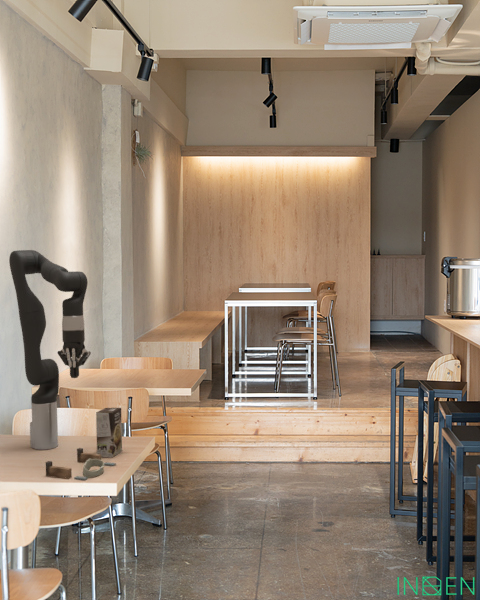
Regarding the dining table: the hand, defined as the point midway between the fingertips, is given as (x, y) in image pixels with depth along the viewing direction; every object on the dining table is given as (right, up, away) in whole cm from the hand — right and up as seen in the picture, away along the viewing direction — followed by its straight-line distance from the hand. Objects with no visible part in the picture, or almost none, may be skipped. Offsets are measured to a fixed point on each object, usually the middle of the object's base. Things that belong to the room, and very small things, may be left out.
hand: (74, 377), depth 226 cm
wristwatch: (+10, -30, -16) cm, 35 cm away
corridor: (+3, -29, -11) cm, 31 cm away
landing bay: (+11, -29, -14) cm, 34 cm away
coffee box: (+11, -29, +8) cm, 32 cm away
